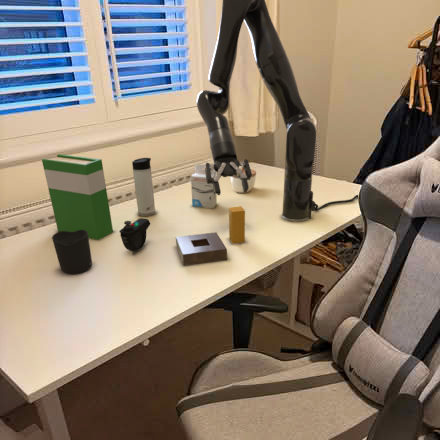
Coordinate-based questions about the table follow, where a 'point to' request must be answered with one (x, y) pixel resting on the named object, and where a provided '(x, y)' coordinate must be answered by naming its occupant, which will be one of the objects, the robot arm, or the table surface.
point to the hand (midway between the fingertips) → (232, 192)
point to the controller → (134, 234)
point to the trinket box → (237, 182)
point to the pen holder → (73, 251)
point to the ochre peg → (237, 225)
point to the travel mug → (143, 186)
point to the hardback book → (78, 195)
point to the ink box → (203, 188)
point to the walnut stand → (201, 248)
